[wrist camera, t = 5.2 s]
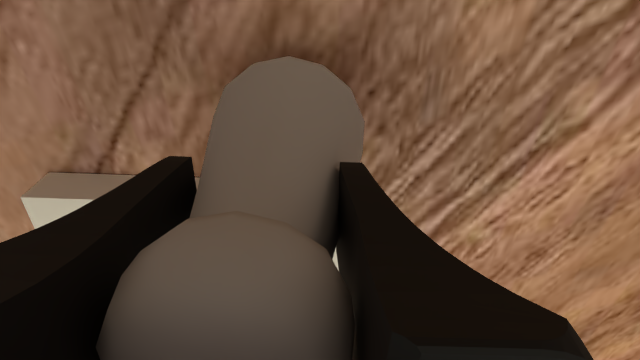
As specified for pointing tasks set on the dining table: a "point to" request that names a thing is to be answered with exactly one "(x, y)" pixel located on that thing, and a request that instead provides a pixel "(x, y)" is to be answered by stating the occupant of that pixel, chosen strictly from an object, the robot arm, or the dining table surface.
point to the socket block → (72, 195)
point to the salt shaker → (252, 233)
